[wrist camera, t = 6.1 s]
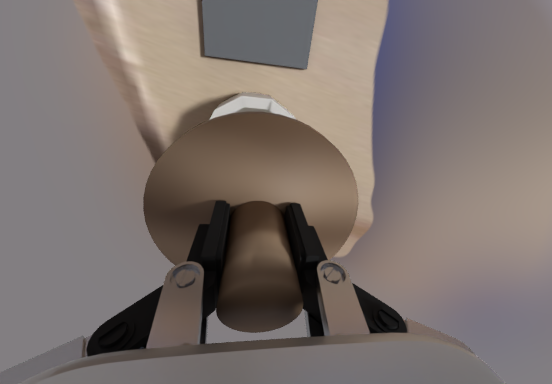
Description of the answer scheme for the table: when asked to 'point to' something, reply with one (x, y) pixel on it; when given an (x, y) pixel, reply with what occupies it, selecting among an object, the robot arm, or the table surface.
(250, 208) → the lid
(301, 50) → the mat
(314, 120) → the table surface
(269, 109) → the bowl
